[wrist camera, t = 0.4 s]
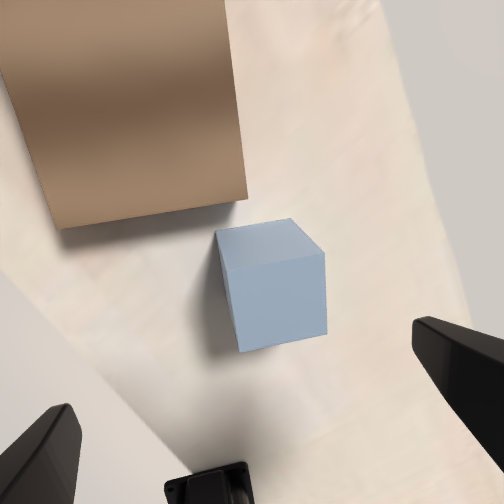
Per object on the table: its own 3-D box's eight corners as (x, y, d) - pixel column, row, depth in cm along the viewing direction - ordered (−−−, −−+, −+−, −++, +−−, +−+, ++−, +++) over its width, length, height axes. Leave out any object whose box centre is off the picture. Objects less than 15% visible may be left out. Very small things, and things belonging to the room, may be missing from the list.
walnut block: (239, 186, 20) (248, 199, 18) (74, 212, 19) (56, 229, 16) (214, -3, 17) (221, -25, 14) (10, 14, 16) (-26, -5, 13)
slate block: (295, 284, 23) (327, 334, 18) (226, 297, 22) (239, 352, 17) (290, 217, 21) (324, 252, 16) (215, 230, 21) (226, 270, 16)
